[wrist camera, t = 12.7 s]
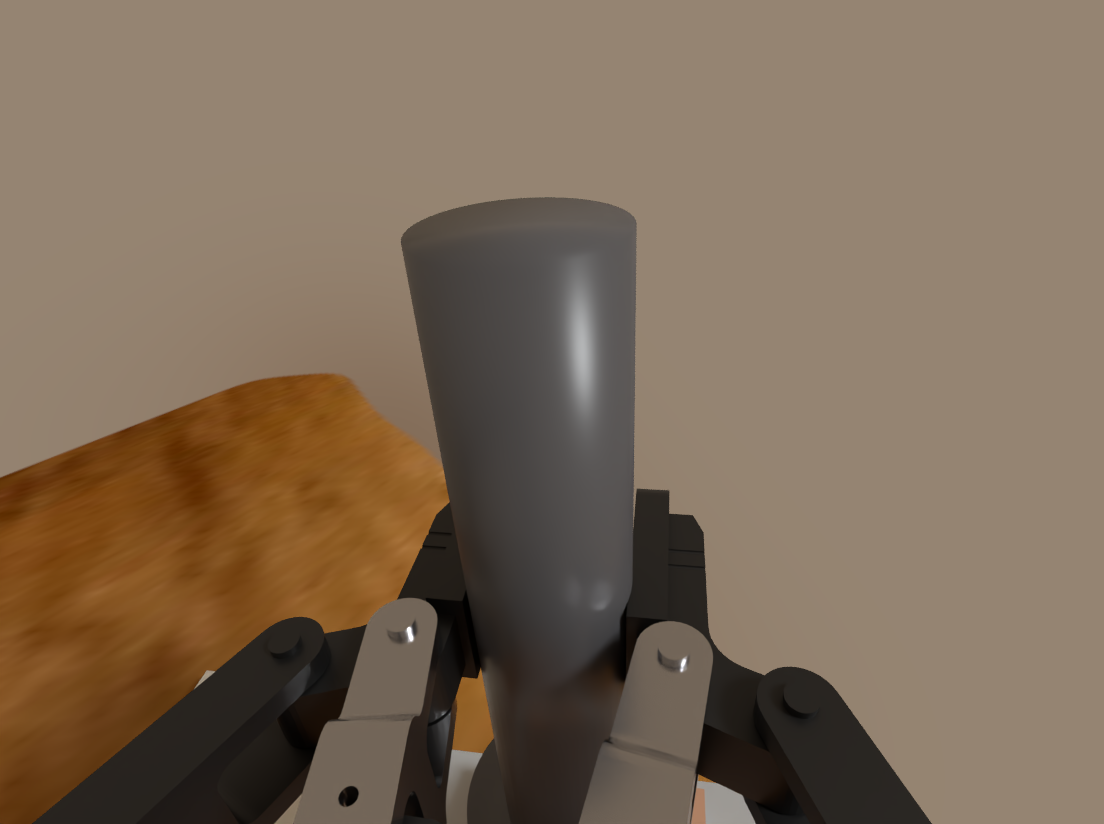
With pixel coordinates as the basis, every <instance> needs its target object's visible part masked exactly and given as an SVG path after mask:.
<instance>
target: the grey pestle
mask: <svg viewBox="0 0 1104 824" xmlns="http://www.w3.org/2000/svg"><path fill="white" fill-rule="evenodd" d="M401 245H402V251H403V256H404V261H405V267H406V272H407V277H408V282H409V288H410V293H411V299H412V304H413V309H414V314H415V319H416V325H417V330H418V336H419V341H420V346H421V352H422V357H423V362H424V368H425V372H426V378H427V383H428V389H429V393H430V399H431V405H432V409H433V415H434V420H435V426H436V431H437V437H438V442H439V447H440V452H441V458H442V463H443V468H444V474H445V479H446V484H447V490H448V495H449V500H450V506H451V511H452V516H453V521H454V527H455V532H456V537H457V543H458V548H459V553H460V559H461V564H462V569H463V575H464V580H465V585H466V591H467V596H468V601H469V606H470V612H471V617H472V622H473V628H474V633H475V638H476V644H477V649H478V654H479V660H480V665H481V670H482V675H483V681H484V686H485V691H486V697H487V702H488V707H489V713H490V718H491V723H492V729H493V734H494V739H493V740H492V742H491V743H490V744H489V745H488V747H487V748H486V750H485V751H484V753H483V754H482V756H481V758H480V760H479V762H478V764H477V766H476V768H475V771H474V774H473V777H472V780H471V783H470V788H469V793H468V800H467V824H579V821H580V817H581V814H582V810H583V807H584V803H585V800H586V796H587V793H588V789H589V786H590V782H591V779H592V775H593V772H594V768H595V765H596V761H597V758H598V755H599V752H600V749H601V746H602V744H603V742H604V740H605V739H609V737H610V734H611V731H612V728H613V724H614V721H615V717H616V713H617V710H618V706H619V703H620V699H621V695H622V692H623V688H624V684H625V681H626V616H627V603H628V600H629V597H630V594H631V590H632V581H633V492H634V488H633V487H634V401H635V398H634V397H635V312H636V311H635V310H636V306H635V305H636V220H635V218H634V217H633V216H632V215H631V214H630V213H628V212H627V211H625V210H623V209H621V208H619V207H616V206H613V205H610V204H606V203H601V202H597V201H591V200H583V199H573V198H552V197H551V198H549V197H545V198H520V199H508V200H498V201H491V202H484V203H479V204H473V205H468V206H464V207H459V208H456V209H452V210H448V211H445V212H442V213H439V214H436V215H433V216H430V217H428V218H426V219H424V220H421V221H420V222H418V223H416V224H414V225H413V226H411V227H410V228H409V229H408V230H407V231H406V232H405V233H404V234H403V236H402V238H401Z"/></svg>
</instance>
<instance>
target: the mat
mask: <svg viewBox="0 0 1104 824" xmlns="http://www.w3.org/2000/svg"><path fill="white" fill-rule="evenodd" d="M481 756H482V753H474V752H466V751H458V750H452V753H451V761H450V769H449V777H448V785H447V793H446V818H447V824H467V800H468V793H469V788H470V783H471V780H472V777H473V774H474V771H475V768H476V766H477V764H478V762H479V760H480V758H481ZM697 788H700V789H704V791H705V817H706V824H756V823H755V821H754V819H753V817H752V815H751V813H750V811H749V809H748V807H747V805H746V803H745V801H744V798H743V796H742V795H741V794H739V793H737V792H734V791H732V790H730V789H728V788H726V787H724V786H722V785H720V784H717V783H709V782H702V781H698V782H697Z"/></svg>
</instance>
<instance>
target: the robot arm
mask: <svg viewBox="0 0 1104 824" xmlns="http://www.w3.org/2000/svg"><path fill="white" fill-rule="evenodd" d="M480 668H481V665H480V660H479V654H478V649H477V644H476V638H475V633H474V628H473V622H472V617H471V612H470V606H469V601H468V596H467V591H466V585H465V580H464V575H463V569H462V564H461V559H460V553H459V548H458V543H457V537H456V532H455V527H454V521H453V516H452V511H451V506H450V503H448V504H447V505H446V506H445V507H444V508H443V509H442V510H441V511H440V512H439V513H438V514H437V515H436V517H435V519H434V521H433V523H432V526H431V528H430V530H429V535H427V536H426V538H425V541H424V543H423V545H422V549H420V551H419V554H418V556H417V558H416V560H415V562H414V564H413V566H412V569H411V571H410V573H409V575H408V577H407V579H406V582H405V584H404V586H403V588H402V590H401V592H400V595H399V597H398V599H397V600H395V601H392V602H390V603H388V604H386V605H384V606H383V607H381V608H380V609H379V610H378V611H377V612H375V613H374V615H373V616H372V617H371V619H370V620H369V622H368V624H367V625H364V626H361V627H357V628H352V629H347V630H341V631H336V632H331V633H325V634H324V632H323V629H322V627H321V626H320V624H319V623H318V622H316V621H315V620H313V619H310V618H306V617H294V618H289V619H285V620H282V621H280V622H278V623H276V624H274V625H272V626H270V627H269V628H268V629H266V630H265V631H264V632H262V633H261V634H260V635H259V636H258V637H256V638H255V639H254V640H253V641H252V642H250V643H249V644H248V645H247V646H246V647H244V648H243V649H242V650H241V651H239V652H238V653H237V654H236V655H235V656H233V657H232V658H231V659H230V660H229V661H227V662H226V663H225V664H224V665H223V666H221V667H220V668H219V669H218V670H217V671H215V672H214V673H213V674H212V675H211V676H209V677H208V678H207V679H206V680H205V681H203V682H202V683H201V684H200V685H199V686H197V687H196V688H195V689H194V690H193V691H191V692H190V693H189V694H188V695H186V696H185V697H184V698H183V699H182V700H180V701H179V702H178V703H177V704H176V705H174V706H173V707H172V708H171V709H170V710H168V711H167V712H166V713H165V714H164V715H162V716H161V717H160V718H159V719H158V720H156V721H155V722H154V723H153V724H152V725H150V726H149V727H148V728H147V729H146V730H144V731H143V732H142V733H141V734H140V735H138V736H137V737H136V738H135V739H133V740H132V741H131V742H130V743H129V744H127V745H126V746H125V747H124V748H123V749H121V750H120V751H119V752H118V753H117V754H115V755H114V756H113V757H112V758H111V759H109V760H108V761H107V762H106V763H105V764H103V765H102V766H101V767H100V768H99V769H97V770H96V771H95V772H94V773H93V774H91V775H90V776H89V777H88V778H87V779H85V780H84V781H83V782H82V783H80V784H79V785H78V786H77V787H76V788H74V789H73V790H72V791H71V792H70V793H68V794H67V795H66V796H65V797H64V798H62V799H61V800H60V801H59V802H58V803H56V804H55V805H54V806H53V807H52V808H50V809H49V810H48V811H47V812H46V813H44V814H43V815H42V816H41V817H40V818H38V819H37V820H36V821H35V822H34V823H32V824H274V823H275V822H276V821H277V820H278V819H279V818H280V817H281V816H282V815H283V814H284V813H285V811H286V810H287V809H288V808H289V807H290V806H291V805H292V804H293V803H294V802H295V801H296V800H297V798H298V797H299V796H300V795H301V794H302V796H301V799H300V803H299V806H298V809H297V812H296V816H295V819H294V822H293V824H447V818H446V793H447V785H448V777H449V769H450V761H451V753H452V745H453V737H454V729H455V721H456V713H457V700H456V694H457V691H458V688H459V684H460V681H461V678H462V677H467V678H478V675H479V671H480ZM699 775H701V776H703V777H705V778H707V779H710V780H712V781H714V782H716V783H718V784H720V785H722V786H724V787H726V788H728V789H730V790H732V791H734V792H737V793H739V794H741V795H742V796H743V798H744V801H745V803H746V805H747V807H748V809H749V811H750V813H751V815H752V817H753V819H754V821H755V823H756V824H932V823H931V822H930V821H929V819H928V818H927V817H926V815H925V814H924V812H923V811H922V810H921V808H920V807H919V805H918V804H917V802H916V801H915V800H914V798H913V797H912V796H911V794H910V793H909V791H908V790H907V789H906V787H905V786H904V785H903V783H902V782H901V780H900V779H899V777H898V776H897V775H896V773H895V772H894V770H893V769H892V768H891V766H890V765H889V763H888V762H887V761H886V759H885V758H884V756H883V755H882V754H881V752H880V751H879V749H878V748H877V747H876V745H875V744H874V743H873V741H872V740H871V738H870V737H869V736H868V734H867V733H866V731H865V730H864V729H863V727H862V726H861V724H860V723H859V722H858V720H857V719H856V717H855V716H854V715H853V713H852V712H851V710H850V709H849V708H848V706H847V705H846V703H845V702H844V701H843V699H842V698H841V696H840V695H839V694H838V692H837V691H836V690H835V689H834V688H833V686H832V685H830V684H829V683H828V682H827V681H826V680H825V679H823V678H822V677H821V676H819V675H817V674H815V673H813V672H811V671H808V670H805V669H802V668H797V667H782V668H777V669H775V670H772V671H770V672H769V673H767V674H766V675H762V674H759V673H757V672H754V671H752V670H749V669H747V668H744V667H742V666H740V665H738V664H736V663H734V662H732V661H731V660H729V659H728V658H727V657H726V656H724V655H723V654H722V653H721V652H720V651H719V650H718V649H717V647H716V646H715V644H714V643H713V641H712V639H711V637H710V633H709V628H708V613H707V594H706V573H705V556H704V534H703V531H702V530H701V528H700V526H699V525H698V523H697V521H696V520H695V518H694V517H693V515H679V514H669V491H668V490H648V489H637V493H636V504H635V517H634V529H633V581H632V590H631V594H630V597H629V600H628V603H627V616H626V681H625V684H624V688H623V692H622V695H621V699H620V703H619V706H618V710H617V713H616V717H615V721H614V724H613V728H612V731H611V734H610V737H609V739H605V740H604V742H603V744H602V746H601V749H600V752H599V755H598V758H597V761H596V765H595V768H594V772H593V775H592V779H591V782H590V786H589V789H588V793H587V796H586V800H585V803H584V807H583V810H582V814H581V817H580V821H579V824H691V822H692V816H693V809H694V802H695V796H696V789H697V782H698V776H699Z"/></svg>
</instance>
